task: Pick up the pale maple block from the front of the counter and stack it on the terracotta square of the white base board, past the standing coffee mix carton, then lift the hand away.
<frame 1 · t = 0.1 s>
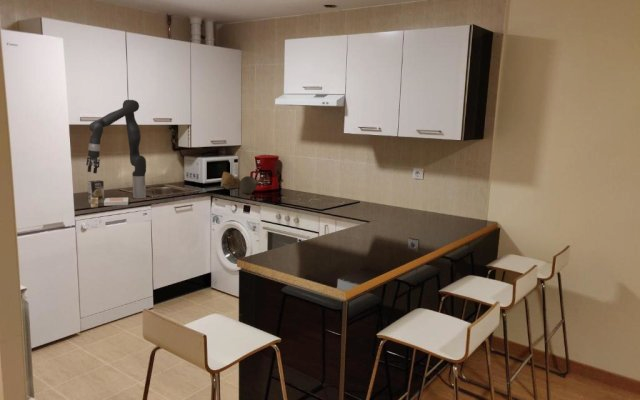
hand: (92, 172, 350), 22 cm above the counter, fingers open, 8 cm apart
white base board: (116, 203, 357), on the counter
rough brown rock: (230, 188, 440), on the counter
coffee box: (96, 203, 356), on the counter
dark grey sphere: (247, 194, 415), on the counter
maple block: (94, 206, 343), on the counter
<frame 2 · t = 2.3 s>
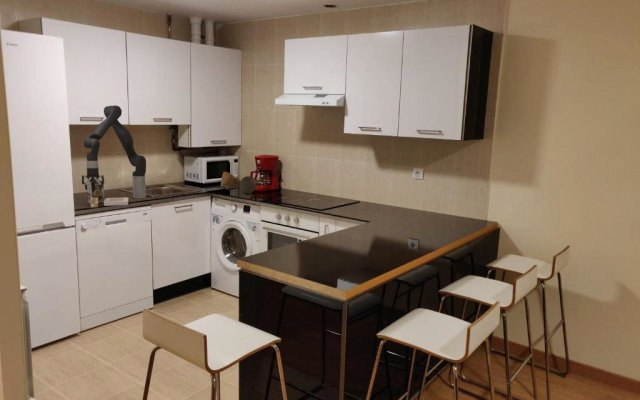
hand: (93, 190, 341), 12 cm above the counter, fingers open, 8 cm apart
nothing on the counter moved.
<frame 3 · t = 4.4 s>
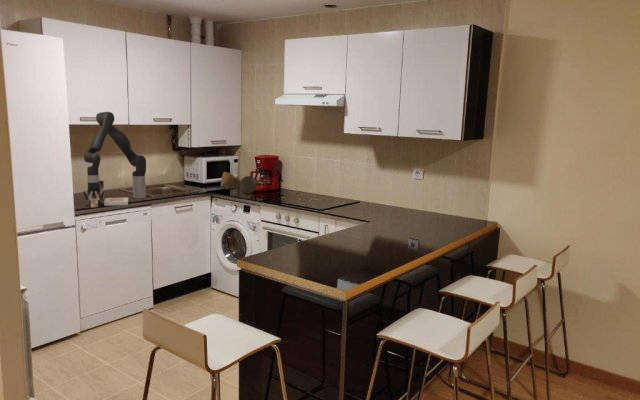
hand: (94, 205, 343), 1 cm above the counter, fingers closed on maple block, 4 cm apart
maple block: (94, 206, 343), on the counter, touching gripper
everything else where it was.
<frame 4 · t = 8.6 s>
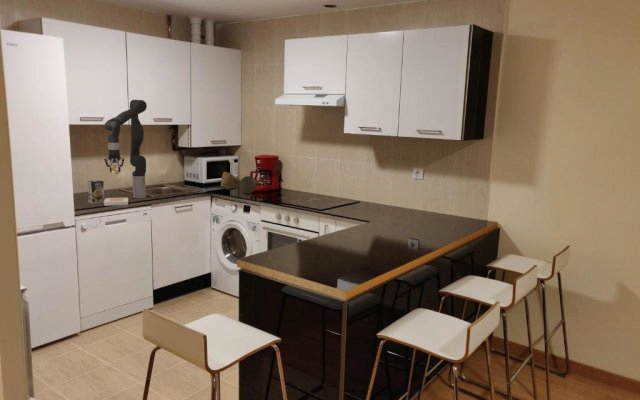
hand: (115, 172, 353), 23 cm above the counter, fingers closed on maple block, 4 cm apart
maple block: (115, 173, 353), point 22 cm above the counter, touching gripper
everything else where it was.
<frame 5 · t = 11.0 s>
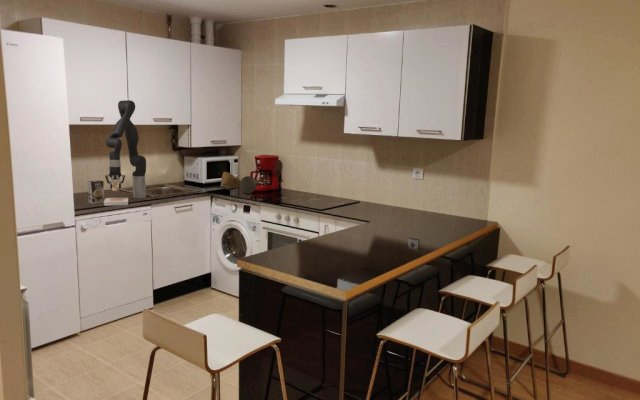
hand: (115, 188, 355), 11 cm above the counter, fingers closed on maple block, 4 cm apart
maple block: (115, 190, 355), point 10 cm above the counter, touching gripper
everything else where it was.
when the fingers open (5 cm above the counter, at t = 13.0 s): maple block drops 1 cm, resting on white base board.
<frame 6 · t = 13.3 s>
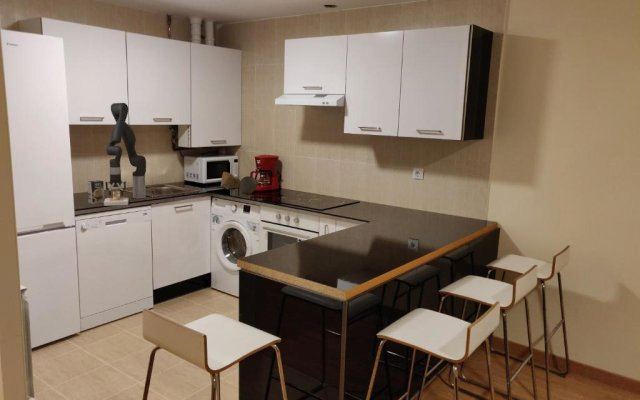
hand: (116, 195, 356), 6 cm above the counter, fingers open, 7 cm apart
maple block: (116, 199, 357), point 3 cm above the counter, touching white base board
everything else where it was.
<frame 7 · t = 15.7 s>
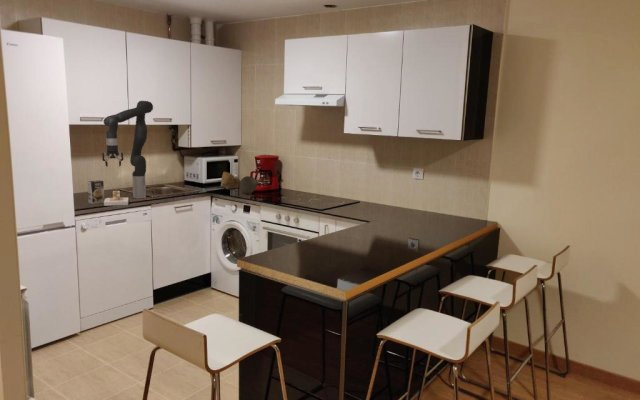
hand: (113, 166, 358), 26 cm above the counter, fingers open, 8 cm apart
nothing on the counter moved.
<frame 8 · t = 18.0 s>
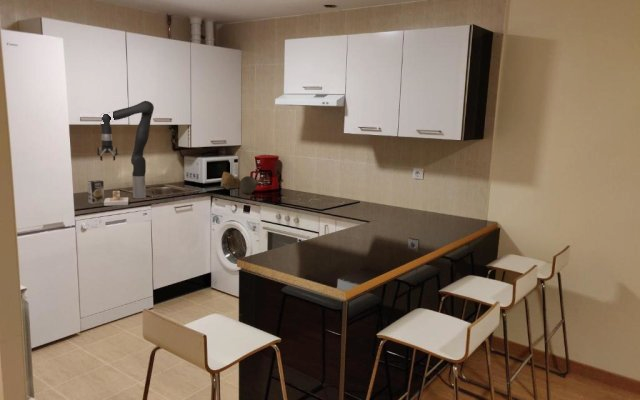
hand: (107, 160, 376), 28 cm above the counter, fingers open, 8 cm apart
nothing on the counter moved.
at the end: maple block inside the target area on the white base board (0.1 cm from its centre), point 2.7 cm above the white base board's base; maple block tilted 0°; the gripper is holding nothing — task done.
